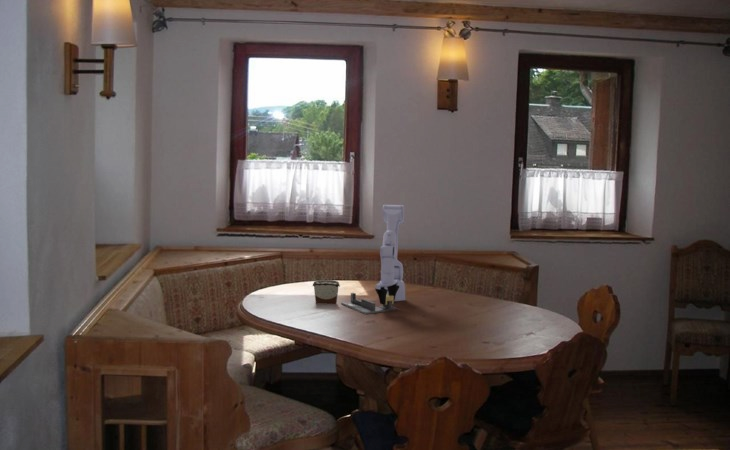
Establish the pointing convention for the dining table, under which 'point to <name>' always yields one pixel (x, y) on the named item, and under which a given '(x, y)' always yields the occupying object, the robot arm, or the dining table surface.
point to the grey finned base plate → (388, 306)
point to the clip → (389, 298)
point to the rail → (362, 305)
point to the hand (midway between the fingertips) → (387, 302)
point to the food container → (326, 291)
